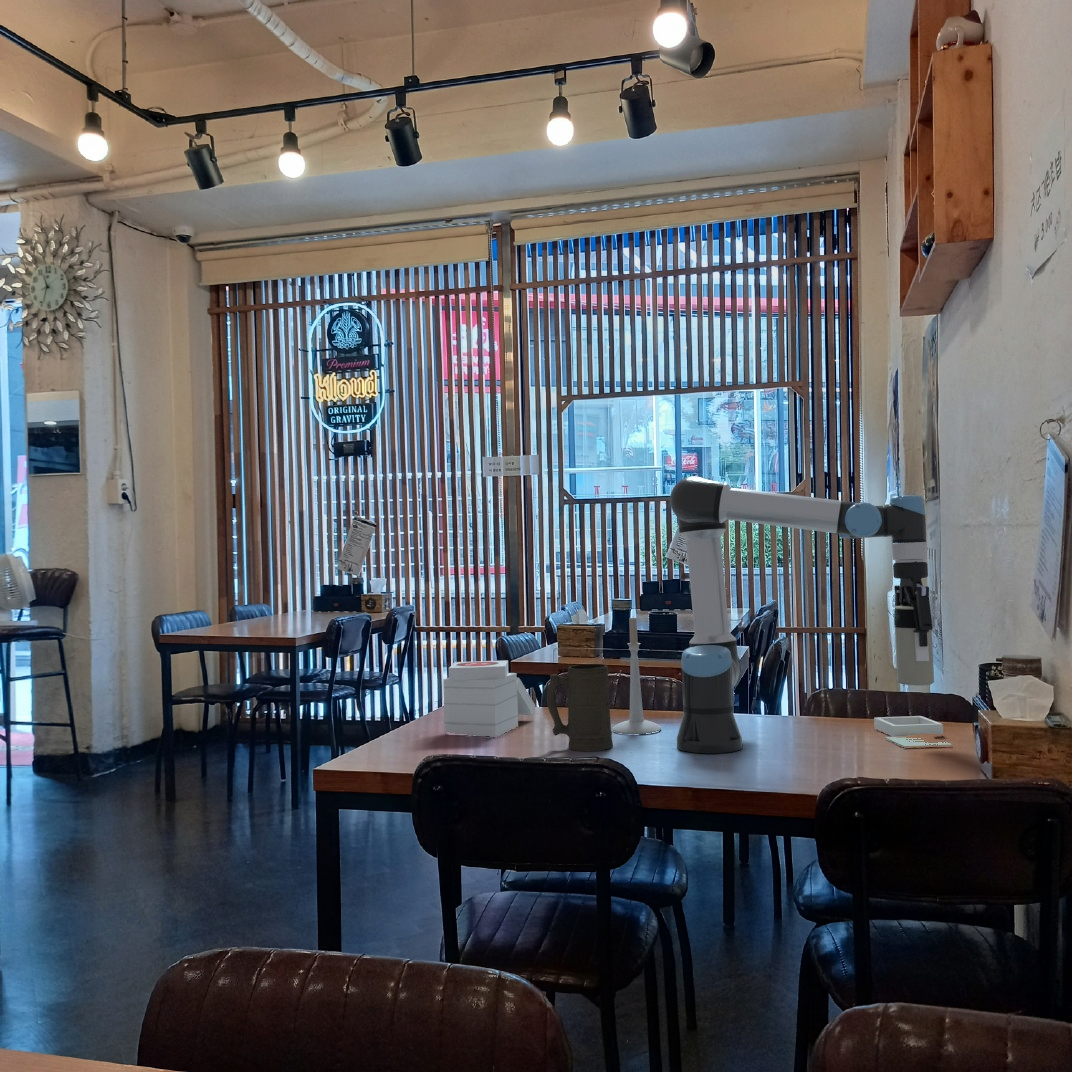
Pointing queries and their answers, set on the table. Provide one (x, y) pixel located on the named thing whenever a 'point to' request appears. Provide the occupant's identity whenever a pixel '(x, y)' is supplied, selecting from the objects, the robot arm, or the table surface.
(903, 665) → the travel mug
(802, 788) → the table surface
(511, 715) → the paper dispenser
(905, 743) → the mat
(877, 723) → the square grey tray
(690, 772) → the table surface
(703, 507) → the robot arm
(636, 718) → the candlestick
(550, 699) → the beer stein
